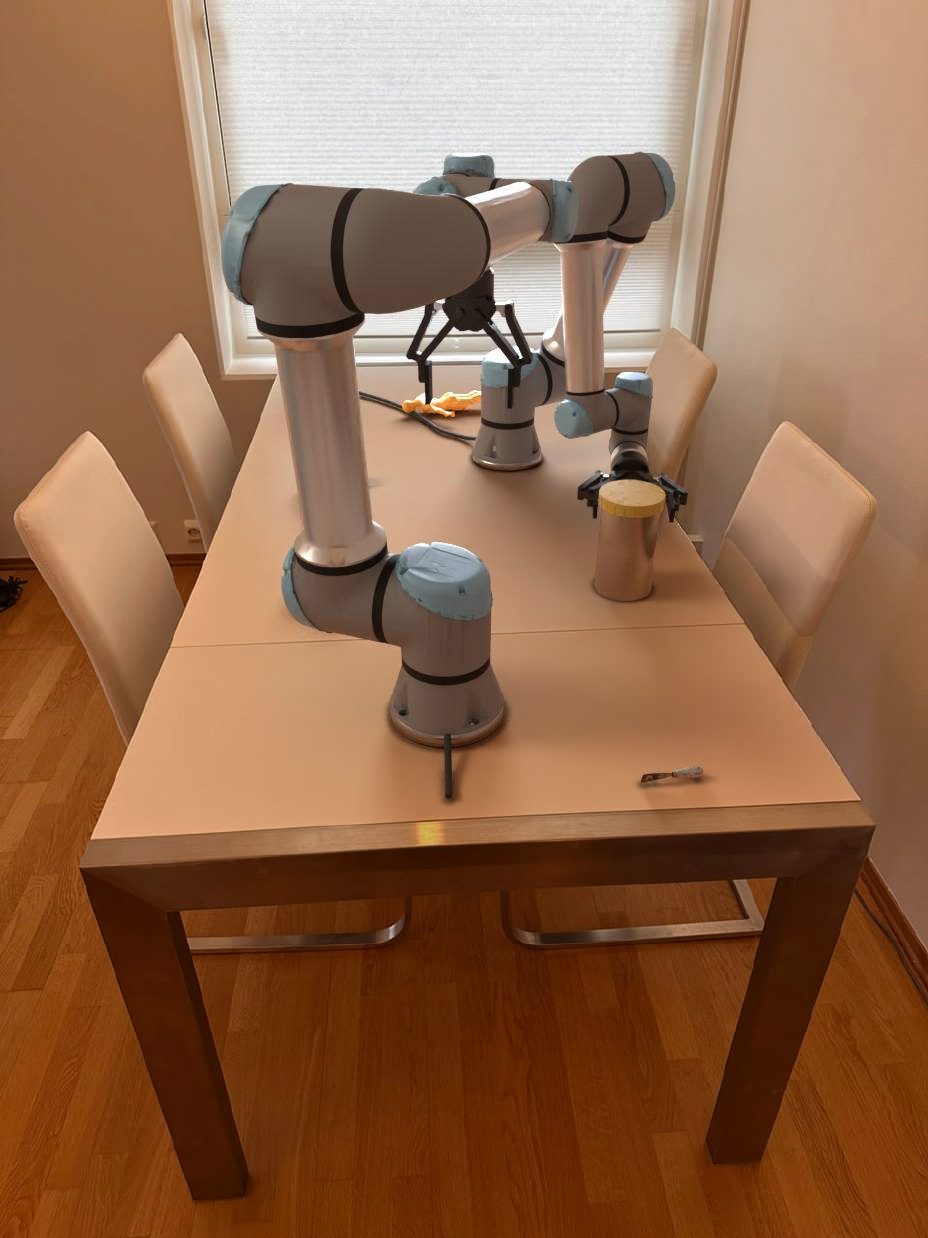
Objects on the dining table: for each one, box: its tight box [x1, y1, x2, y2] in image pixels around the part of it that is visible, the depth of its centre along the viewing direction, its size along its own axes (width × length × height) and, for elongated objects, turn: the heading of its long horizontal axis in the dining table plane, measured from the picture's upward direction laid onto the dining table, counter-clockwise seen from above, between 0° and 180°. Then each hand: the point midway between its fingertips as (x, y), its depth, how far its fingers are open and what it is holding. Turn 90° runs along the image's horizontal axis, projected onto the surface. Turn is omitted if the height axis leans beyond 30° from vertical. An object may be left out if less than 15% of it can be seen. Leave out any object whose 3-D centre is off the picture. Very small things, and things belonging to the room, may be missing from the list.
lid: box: [598, 480, 666, 518], centre depth 141 cm, size 10×10×2 cm
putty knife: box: [640, 765, 705, 784], centre depth 109 cm, size 1×8×2 cm, turn 103°
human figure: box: [401, 390, 481, 418], centre depth 225 cm, size 20×20×4 cm
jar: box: [593, 507, 661, 602], centre depth 145 cm, size 9×9×17 cm
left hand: (469, 404), depth 147 cm, fingers open, 13 cm apart
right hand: (633, 513), depth 159 cm, fingers open, 13 cm apart
